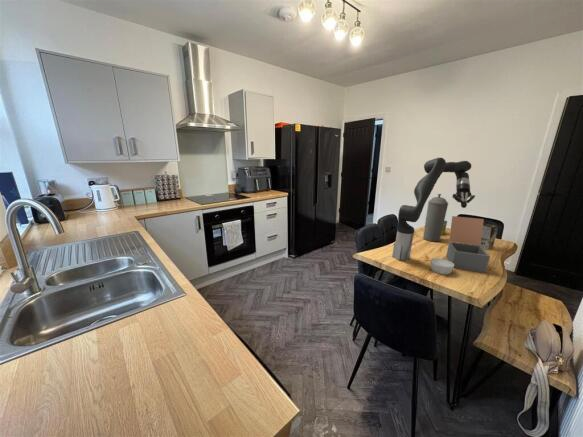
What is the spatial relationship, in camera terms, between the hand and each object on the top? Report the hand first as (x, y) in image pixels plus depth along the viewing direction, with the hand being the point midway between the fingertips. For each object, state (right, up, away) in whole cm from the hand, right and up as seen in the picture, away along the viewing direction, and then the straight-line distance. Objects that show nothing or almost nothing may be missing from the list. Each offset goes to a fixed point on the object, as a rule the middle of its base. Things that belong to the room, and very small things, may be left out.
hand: (464, 207), depth 153 cm
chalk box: (+6, -20, +41) cm, 46 cm away
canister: (-6, -23, +27) cm, 36 cm away
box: (-9, -35, -13) cm, 38 cm away
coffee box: (+24, -28, +13) cm, 39 cm away
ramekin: (-29, -37, -21) cm, 51 cm away
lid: (-5, -15, -9) cm, 18 cm away
